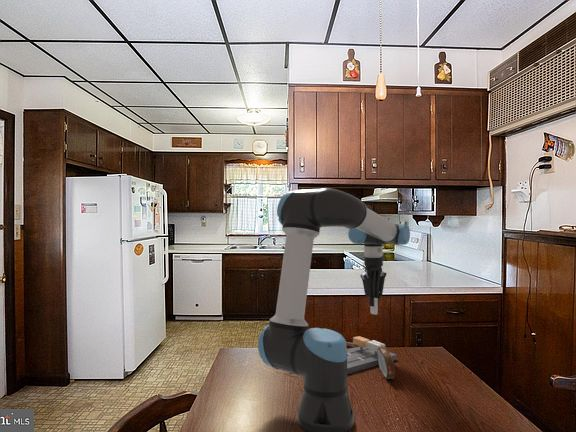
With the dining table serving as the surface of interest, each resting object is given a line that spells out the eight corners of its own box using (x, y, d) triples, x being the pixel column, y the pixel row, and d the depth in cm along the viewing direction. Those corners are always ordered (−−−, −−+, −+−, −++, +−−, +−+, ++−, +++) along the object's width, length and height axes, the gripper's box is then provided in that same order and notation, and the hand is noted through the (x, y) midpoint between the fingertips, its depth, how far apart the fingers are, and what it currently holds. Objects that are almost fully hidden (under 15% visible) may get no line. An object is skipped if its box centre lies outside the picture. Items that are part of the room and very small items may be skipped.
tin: (395, 383, 125) (395, 357, 125) (385, 383, 125) (385, 357, 125) (385, 366, 140) (384, 343, 140) (376, 366, 140) (376, 343, 140)
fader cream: (378, 357, 142) (378, 345, 142) (367, 352, 147) (366, 341, 148) (385, 355, 144) (385, 344, 144) (373, 351, 149) (373, 339, 149)
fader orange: (363, 352, 148) (363, 341, 148) (352, 348, 153) (352, 337, 153) (370, 351, 150) (370, 339, 150) (359, 346, 155) (359, 335, 155)
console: (336, 377, 130) (336, 369, 130) (311, 363, 143) (311, 356, 143) (396, 359, 146) (396, 353, 146) (368, 349, 159) (368, 342, 159)
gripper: (368, 258, 149) (369, 318, 149) (391, 256, 156) (392, 313, 156) (355, 256, 155) (355, 314, 155) (378, 255, 162) (378, 309, 162)
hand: (374, 313), depth 155 cm, fingers closed
